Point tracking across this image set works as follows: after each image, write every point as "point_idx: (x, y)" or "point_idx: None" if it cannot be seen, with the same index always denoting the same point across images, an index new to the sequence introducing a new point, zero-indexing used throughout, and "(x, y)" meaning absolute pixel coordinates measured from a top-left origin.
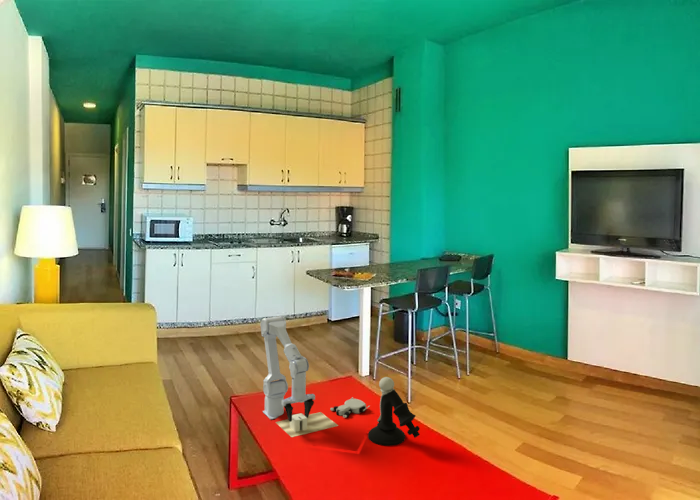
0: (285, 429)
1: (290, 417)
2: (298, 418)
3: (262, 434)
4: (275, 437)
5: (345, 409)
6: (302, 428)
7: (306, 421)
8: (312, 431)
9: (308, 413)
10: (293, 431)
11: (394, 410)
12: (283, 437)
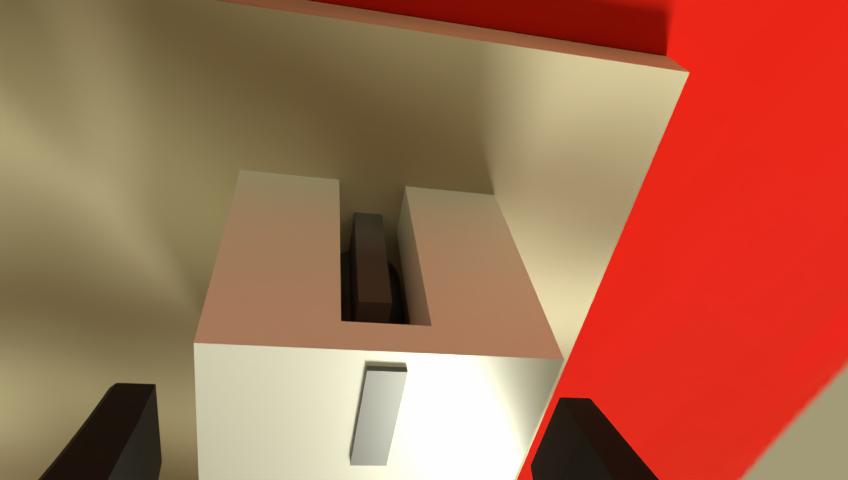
0: None
1: (653, 478)
2: (424, 407)
3: (775, 386)
4: (753, 255)
5: None
6: (338, 208)
7: (232, 276)
8: (178, 20)
9: (76, 474)
10: None
11: None
12: (684, 195)
